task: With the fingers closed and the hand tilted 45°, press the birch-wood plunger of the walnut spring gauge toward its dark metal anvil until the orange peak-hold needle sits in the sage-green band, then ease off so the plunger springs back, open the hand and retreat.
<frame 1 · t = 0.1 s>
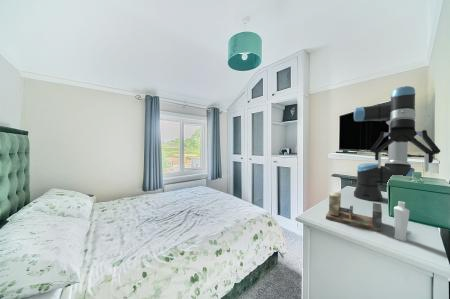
hand: (401, 169, 71), 28 cm above the table, tool tilted 20°, fingers open, 13 cm apart
gauge plunger: (339, 204, 89), point 7 cm above the table, slide at 0.0 cm
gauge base: (343, 218, 88), on the table
peak needle: (350, 212, 85), point 4 cm above the table, slide at 0.0 cm
perfume bottle: (399, 238, 70), on the table
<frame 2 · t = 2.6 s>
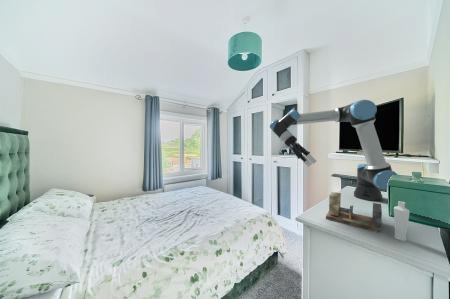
hand: (312, 164, 104), 26 cm above the table, tool tilted 45°, fingers open, 13 cm apart
nothing on the table moved.
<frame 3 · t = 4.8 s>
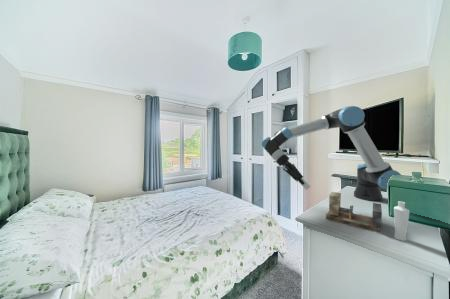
hand: (308, 188, 98), 13 cm above the table, tool tilted 45°, fingers closed
nothing on the table moved.
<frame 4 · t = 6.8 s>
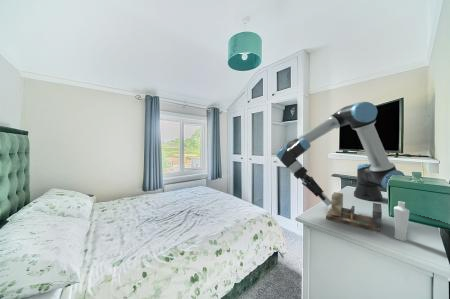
hand: (329, 204, 91), 6 cm above the table, tool tilted 45°, fingers closed
gauge plunger: (341, 204, 88), point 7 cm above the table, slide at 1.0 cm, touching gripper, peak needle
peak needle: (352, 212, 84), point 4 cm above the table, slide at 0.6 cm, touching gauge plunger
everything else where it was.
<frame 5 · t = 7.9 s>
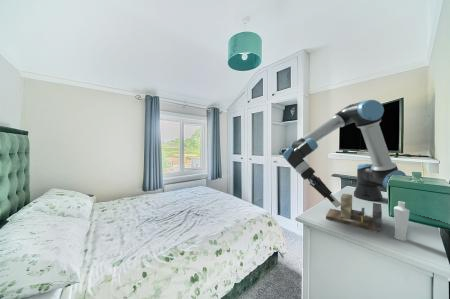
hand: (338, 206, 89), 6 cm above the table, tool tilted 45°, fingers closed
gauge plunger: (351, 206, 85), point 7 cm above the table, slide at 5.0 cm, touching gripper, peak needle
peak needle: (362, 215, 82), point 4 cm above the table, slide at 4.6 cm, touching gauge plunger
everything else where it was.
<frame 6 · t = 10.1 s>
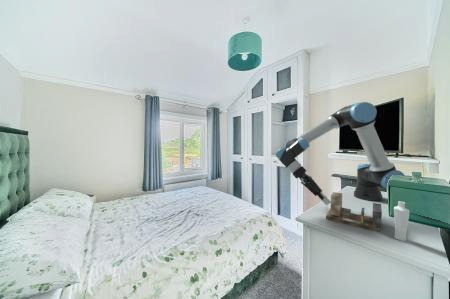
hand: (328, 203, 92), 6 cm above the table, tool tilted 45°, fingers closed
gauge plunger: (341, 204, 88), point 7 cm above the table, slide at 0.7 cm
peak needle: (362, 215, 81), point 4 cm above the table, slide at 4.6 cm
everything else where it was.
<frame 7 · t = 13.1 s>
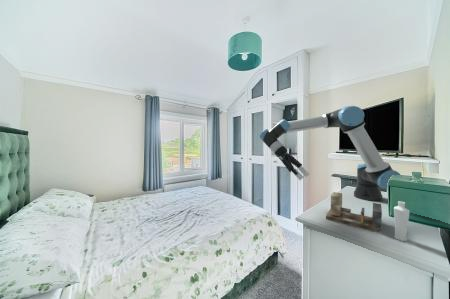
hand: (304, 177, 99), 19 cm above the table, tool tilted 45°, fingers open, 10 cm apart
nothing on the table moved.
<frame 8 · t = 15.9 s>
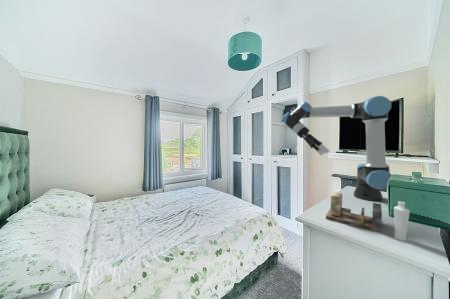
hand: (325, 153, 108), 32 cm above the table, tool tilted 45°, fingers open, 13 cm apart
nothing on the table moved.
at the end: peak needle slide at 4.6 cm; gauge plunger slide at 0.7 cm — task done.
